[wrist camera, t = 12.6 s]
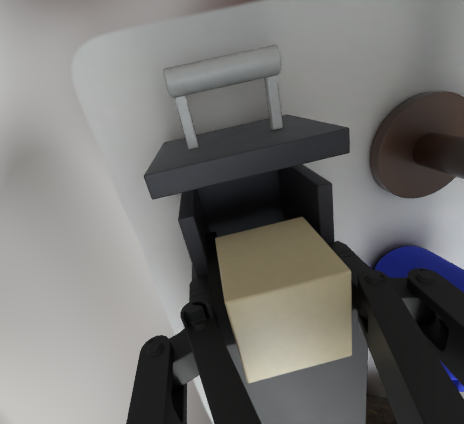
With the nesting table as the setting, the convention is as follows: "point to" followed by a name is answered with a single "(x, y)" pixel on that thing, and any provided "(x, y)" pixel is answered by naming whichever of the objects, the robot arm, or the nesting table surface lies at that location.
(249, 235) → the cream foam cube
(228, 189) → the drawer
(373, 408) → the bowl
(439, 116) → the paper towel holder
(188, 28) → the nesting table surface
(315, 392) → the cabinet
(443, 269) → the mug
